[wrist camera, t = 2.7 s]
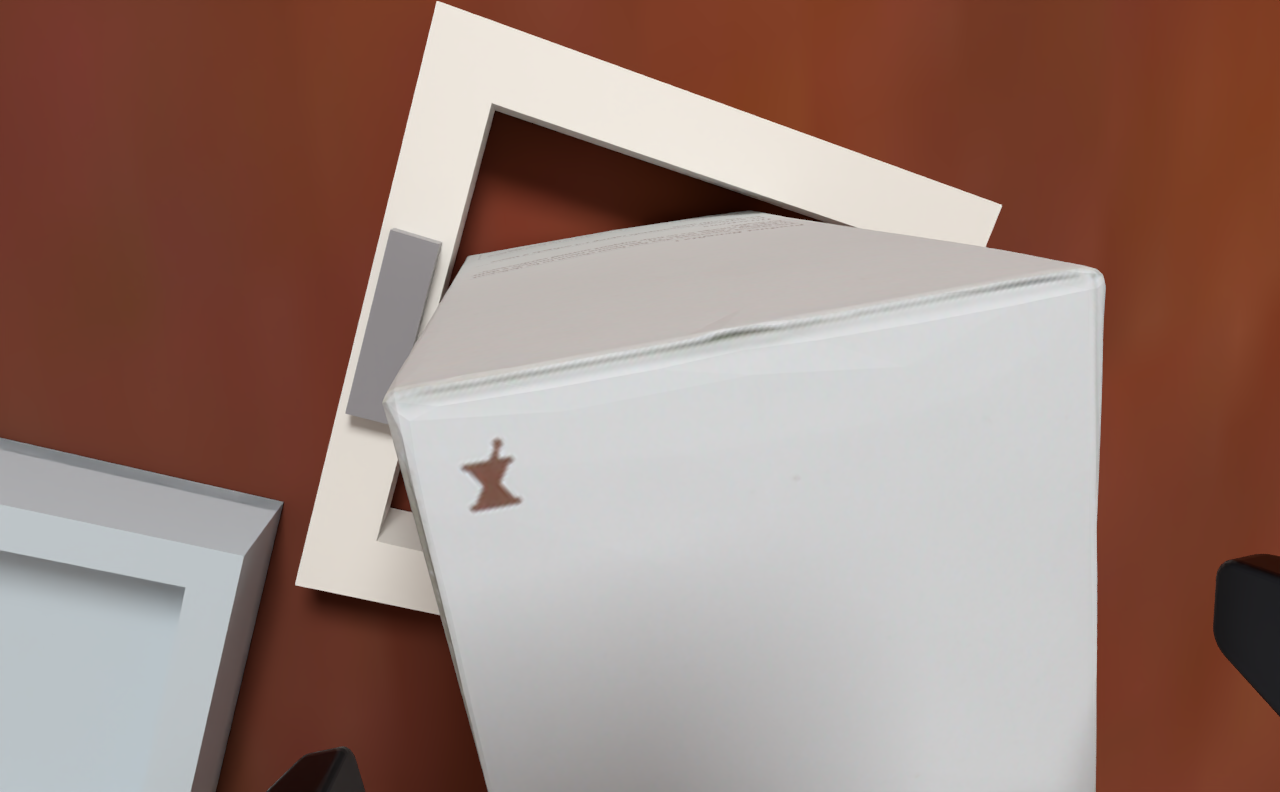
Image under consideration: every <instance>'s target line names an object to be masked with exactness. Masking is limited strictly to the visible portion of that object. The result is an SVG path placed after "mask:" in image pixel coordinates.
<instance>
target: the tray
mask: <svg viewBox="0 0 1280 792" xmlns="http://www.w3.org/2000/svg"><path fill="white" fill-rule="evenodd" d="M282 507H283V502H281V501H277V500H272V499H268V498H264V497H259V496H255V495H250V494H246V493H242V492H237V491H233V490H228V489H224V488H220V487H215V486H211V485H206V484H202V483H197V482H193V481H189V480H184V479H180V478H175V477H171V476H167V475H162V474H158V473H153V472H149V471H145V470H140V469H136V468H131V467H127V466H123V465H118V464H114V463H109V462H105V461H101V460H96V459H92V458H87V457H83V456H79V455H74V454H70V453H65V452H61V451H57V450H52V449H48V448H43V447H39V446H35V445H30V444H26V443H21V442H17V441H12V440H8V439H4V438H0V792H216V788H217V784H218V780H219V776H220V771H221V767H222V763H223V759H224V754H225V750H226V746H227V741H228V737H229V733H230V729H231V724H232V720H233V716H234V712H235V707H236V703H237V699H238V695H239V690H240V686H241V682H242V677H243V673H244V669H245V665H246V660H247V656H248V652H249V648H250V643H251V639H252V635H253V630H254V626H255V622H256V618H257V613H258V609H259V605H260V601H261V596H262V592H263V588H264V583H265V579H266V575H267V571H268V566H269V562H270V558H271V554H272V549H273V545H274V541H275V537H276V532H277V528H278V524H279V519H280V515H281V511H282Z"/></svg>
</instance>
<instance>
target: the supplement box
mask: <svg viewBox="0 0 1280 792" xmlns="http://www.w3.org/2000/svg"><path fill="white" fill-rule="evenodd" d="M1105 288H1106V286H1105V281H1104V277H1103V275H1102V273H1101V272H1099V271H1098V270H1097V269H1094V268H1091V267H1087V266H1083V265H1078V264H1073V263H1067V262H1062V261H1056V260H1051V259H1046V258H1041V257H1036V256H1031V255H1026V254H1021V253H1016V252H1010V251H1004V250H999V249H993V248H987V247H981V246H975V245H969V244H962V243H956V242H949V241H943V240H936V239H929V238H923V237H916V236H910V235H903V234H896V233H888V232H881V231H875V230H868V229H861V228H855V227H848V226H842V225H835V224H829V223H822V222H816V221H809V220H802V219H795V218H789V217H783V216H778V215H772V214H768V213H763V212H756V211H740V212H732V213H725V214H718V215H710V216H703V217H696V218H690V219H683V220H677V221H671V222H664V223H658V224H652V225H645V226H639V227H632V228H625V229H619V230H613V231H607V232H601V233H596V234H590V235H585V236H579V237H573V238H568V239H562V240H556V241H551V242H545V243H539V244H534V245H528V246H522V247H516V248H511V249H505V250H500V251H495V252H489V253H484V254H477V255H471V256H468V257H467V258H466V260H465V262H464V264H463V265H462V267H461V269H460V270H459V272H458V274H457V276H456V277H455V279H454V281H453V282H452V284H451V286H450V287H449V289H448V290H447V292H446V293H445V295H444V297H443V299H442V300H441V302H440V303H439V305H438V307H437V309H436V310H435V312H434V314H433V316H432V317H431V319H430V321H429V322H428V324H427V325H426V327H425V329H424V330H423V332H422V334H421V336H420V338H419V339H418V340H417V341H416V343H415V345H414V347H413V348H412V350H411V352H410V354H409V356H408V357H407V359H406V360H405V362H404V364H403V365H402V367H401V369H400V370H399V372H398V373H397V375H396V377H395V379H394V380H393V382H392V384H391V386H390V388H389V389H388V391H387V393H386V395H385V397H384V399H383V402H382V404H383V407H384V410H385V414H386V417H387V421H388V424H389V428H390V432H391V436H392V439H393V443H394V447H395V450H396V454H397V458H398V461H399V465H400V469H401V473H402V476H403V480H404V484H405V487H406V491H407V495H408V498H409V502H410V506H411V509H412V513H413V517H414V521H415V524H416V528H417V532H418V535H419V539H420V543H421V546H422V550H423V554H424V557H425V561H426V565H427V569H428V572H429V576H430V580H431V583H432V587H433V591H434V594H435V598H436V602H437V605H438V609H439V613H440V616H441V620H442V624H443V628H444V631H445V635H446V639H447V642H448V646H449V650H450V653H451V657H452V661H453V664H454V668H455V672H456V675H457V679H458V683H459V686H460V690H461V694H462V697H463V701H464V705H465V708H466V712H467V716H468V719H469V723H470V727H471V730H472V734H473V738H474V741H475V745H476V749H477V753H478V756H479V760H480V764H481V767H482V771H483V775H484V779H485V782H486V786H487V790H488V792H1096V671H1097V534H1096V529H1097V505H1098V479H1099V453H1100V428H1101V399H1102V361H1103V323H1104V306H1105Z"/></svg>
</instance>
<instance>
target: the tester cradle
mask: <svg viewBox="0 0 1280 792" xmlns="http://www.w3.org/2000/svg"><path fill="white" fill-rule="evenodd" d="M495 111H498V112H501V113H504V114H507V115H510V116H513V117H516V118H519V119H522V120H525V121H528V122H531V123H534V124H537V125H540V126H543V127H545V128H548V129H551V130H554V131H557V132H560V133H563V134H566V135H569V136H572V137H575V138H578V139H581V140H584V141H587V142H590V143H593V144H596V145H599V146H602V147H604V148H607V149H610V150H613V151H616V152H619V153H622V154H625V155H628V156H631V157H634V158H637V159H640V160H643V161H646V162H649V163H652V164H655V165H658V166H661V167H663V168H666V169H669V170H672V171H675V172H678V173H681V174H684V175H687V176H690V177H693V178H696V179H699V180H702V181H705V182H708V183H711V184H714V185H717V186H720V187H722V188H725V189H728V190H731V191H734V192H737V193H740V194H743V195H746V196H749V197H752V198H755V199H758V200H761V201H764V202H767V203H770V204H773V205H776V206H779V207H781V208H784V209H787V210H790V211H793V212H796V213H799V214H802V215H805V216H808V217H811V218H814V219H817V220H820V221H823V222H826V223H829V224H835V225H842V226H848V227H855V228H861V229H868V230H875V231H881V232H888V233H896V234H903V235H910V236H916V237H923V238H929V239H936V240H943V241H949V242H956V243H962V244H969V245H975V246H981V247H986V244H987V242H988V239H989V237H990V234H991V232H992V229H993V227H994V224H995V222H996V219H997V217H998V215H999V212H1000V210H1001V207H1002V205H1000V204H998V203H995V202H992V201H989V200H987V199H984V198H981V197H978V196H976V195H973V194H970V193H967V192H965V191H962V190H959V189H956V188H953V187H951V186H948V185H945V184H942V183H940V182H937V181H934V180H931V179H929V178H926V177H923V176H920V175H917V174H915V173H912V172H909V171H906V170H904V169H901V168H898V167H895V166H893V165H890V164H887V163H884V162H882V161H879V160H876V159H873V158H870V157H868V156H865V155H862V154H859V153H857V152H854V151H851V150H848V149H846V148H843V147H840V146H837V145H835V144H832V143H829V142H826V141H823V140H821V139H818V138H815V137H812V136H810V135H807V134H804V133H801V132H799V131H796V130H793V129H790V128H788V127H785V126H782V125H779V124H776V123H774V122H771V121H768V120H765V119H763V118H760V117H757V116H754V115H752V114H749V113H746V112H743V111H740V110H738V109H735V108H732V107H729V106H727V105H724V104H721V103H718V102H716V101H713V100H710V99H707V98H705V97H702V96H699V95H696V94H693V93H691V92H688V91H685V90H682V89H680V88H677V87H674V86H671V85H669V84H666V83H663V82H660V81H658V80H655V79H652V78H649V77H646V76H644V75H641V74H638V73H635V72H633V71H630V70H627V69H624V68H622V67H619V66H616V65H613V64H610V63H608V62H605V61H602V60H599V59H597V58H594V57H591V56H588V55H586V54H583V53H580V52H577V51H575V50H572V49H569V48H566V47H563V46H561V45H558V44H555V43H552V42H550V41H547V40H544V39H541V38H539V37H536V36H533V35H530V34H528V33H525V32H522V31H519V30H516V29H514V28H511V27H508V26H505V25H503V24H500V23H497V22H494V21H492V20H489V19H486V18H483V17H480V16H478V15H475V14H472V13H469V12H467V11H464V10H461V9H458V8H456V7H453V6H450V5H447V4H445V3H442V2H439V1H437V3H436V7H435V11H434V15H433V19H432V23H431V27H430V31H429V36H428V40H427V44H426V48H425V52H424V56H423V60H422V64H421V68H420V73H419V77H418V81H417V85H416V89H415V93H414V97H413V101H412V105H411V110H410V114H409V118H408V122H407V126H406V130H405V134H404V138H403V142H402V147H401V151H400V155H399V159H398V163H397V167H396V171H395V175H394V179H393V184H392V188H391V192H390V196H389V200H388V204H387V208H386V212H385V217H384V221H383V225H382V229H381V233H380V237H379V241H378V245H377V249H376V254H375V258H374V262H373V266H372V270H371V274H370V278H369V282H368V286H367V291H366V295H365V299H364V303H363V307H362V311H361V315H360V319H359V323H358V328H357V332H356V336H355V340H354V344H353V348H352V352H351V356H350V360H349V365H348V369H347V373H346V377H345V381H344V385H343V389H342V393H341V397H340V402H339V406H338V410H337V414H336V418H335V422H334V426H333V430H332V435H331V439H330V443H329V447H328V451H327V455H326V459H325V463H324V467H323V472H322V476H321V480H320V484H319V488H318V492H317V496H316V500H315V504H314V509H313V513H312V517H311V521H310V525H309V529H308V533H307V537H306V541H305V546H304V550H303V554H302V558H301V562H300V566H299V570H298V574H297V578H296V583H295V585H297V586H302V587H307V588H312V589H316V590H321V591H326V592H331V593H336V594H341V595H345V596H350V597H355V598H360V599H365V600H369V601H374V602H379V603H384V604H389V605H394V606H398V607H403V608H408V609H413V610H418V611H422V612H427V613H432V614H437V615H440V613H439V609H438V605H437V602H436V598H435V594H434V591H433V587H432V583H431V580H430V576H429V572H428V569H427V565H426V561H425V557H424V554H423V550H422V546H421V543H420V539H419V535H418V532H417V528H416V524H415V521H414V517H413V513H412V512H408V511H403V510H399V509H395V508H390V505H391V501H392V498H393V494H394V490H395V486H396V483H397V479H398V475H399V471H400V465H399V461H398V458H397V454H396V450H395V447H394V443H393V439H392V436H391V432H390V428H389V424H388V421H387V417H386V414H385V410H384V407H383V404H382V402H383V399H384V397H385V395H386V393H387V391H388V389H389V388H390V386H391V384H392V382H393V380H394V379H395V377H396V375H397V373H398V372H399V370H400V369H401V367H402V365H403V364H404V362H405V360H406V359H407V357H408V356H409V354H410V352H411V350H412V348H413V347H414V345H415V343H416V341H417V340H418V339H419V338H420V336H421V334H422V332H423V330H424V329H425V327H426V325H427V324H428V322H429V321H430V319H431V317H432V316H433V314H434V312H435V310H436V309H437V307H438V305H439V303H440V302H441V300H442V299H443V297H444V295H445V293H446V292H447V290H448V286H449V282H450V279H451V275H452V271H453V267H454V263H455V260H456V256H457V252H458V248H459V245H460V241H461V237H462V233H463V229H464V226H465V222H466V218H467V214H468V210H469V207H470V203H471V199H472V195H473V192H474V188H475V184H476V180H477V176H478V173H479V169H480V165H481V161H482V158H483V154H484V150H485V146H486V142H487V139H488V135H489V131H490V127H491V124H492V120H493V116H494V112H495Z"/></svg>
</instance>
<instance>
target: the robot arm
mask: <svg viewBox="0 0 1280 792" xmlns="http://www.w3.org/2000/svg"><path fill="white" fill-rule="evenodd" d="M1213 632H1214V636H1215V640H1216V642H1217V645H1218V647H1219V648H1220V650H1221V652H1222V653H1223V654H1224V656H1225V657H1226V658H1227V659H1228V660H1229V661H1230V662H1231V663H1232V665H1233V666H1234V667H1235V668H1236V669H1237V670H1238V671H1239V672H1240V673H1241V674H1242V676H1243V677H1244V678H1245V679H1246V680H1247V681H1248V682H1249V683H1250V684H1251V685H1252V687H1253V688H1254V689H1255V690H1256V691H1257V692H1258V693H1259V694H1260V695H1261V696H1262V698H1263V699H1264V700H1265V701H1266V702H1267V703H1268V704H1269V705H1270V706H1271V707H1272V709H1273V710H1274V711H1275V712H1276V713H1277V714H1278V715H1279V716H1280V556H1275V555H1270V554H1255V555H1250V556H1245V557H1241V558H1236V559H1231V560H1228V561H1226V562H1224V563H1223V564H1221V566H1220V568H1219V569H1218V571H1217V576H1216V590H1215V606H1214V622H1213ZM266 792H365V789H364V786H363V782H362V779H361V776H360V772H359V769H358V765H357V762H356V759H355V756H354V754H353V753H352V751H351V750H350V749H348V748H347V747H338V748H333V749H328V750H323V751H318V752H314V753H309V754H306V755H304V756H303V757H302V758H301V759H299V760H298V761H297V762H296V763H295V764H294V765H293V766H292V767H291V768H290V769H289V770H288V771H287V772H286V773H285V774H284V775H283V776H282V777H281V778H280V779H279V780H278V781H277V782H276V783H275V784H274V785H273V786H271V787H270V788H269V789H268V790H267V791H266Z"/></svg>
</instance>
